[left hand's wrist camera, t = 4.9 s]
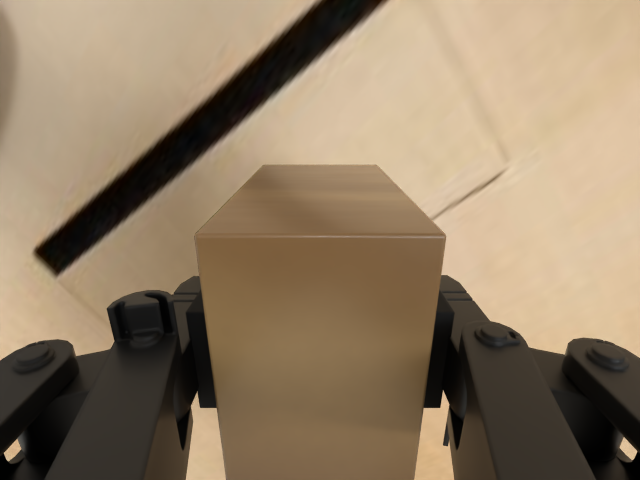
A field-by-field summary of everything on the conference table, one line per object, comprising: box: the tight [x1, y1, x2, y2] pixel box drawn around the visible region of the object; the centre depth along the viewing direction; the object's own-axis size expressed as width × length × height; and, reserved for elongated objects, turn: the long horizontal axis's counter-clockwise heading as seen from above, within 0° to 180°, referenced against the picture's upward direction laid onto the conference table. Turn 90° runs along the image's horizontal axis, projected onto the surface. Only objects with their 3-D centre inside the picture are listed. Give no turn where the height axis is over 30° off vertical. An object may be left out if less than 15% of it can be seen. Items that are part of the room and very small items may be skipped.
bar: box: [194, 165, 446, 480], centre depth 14 cm, size 22×4×8 cm, turn 0°
